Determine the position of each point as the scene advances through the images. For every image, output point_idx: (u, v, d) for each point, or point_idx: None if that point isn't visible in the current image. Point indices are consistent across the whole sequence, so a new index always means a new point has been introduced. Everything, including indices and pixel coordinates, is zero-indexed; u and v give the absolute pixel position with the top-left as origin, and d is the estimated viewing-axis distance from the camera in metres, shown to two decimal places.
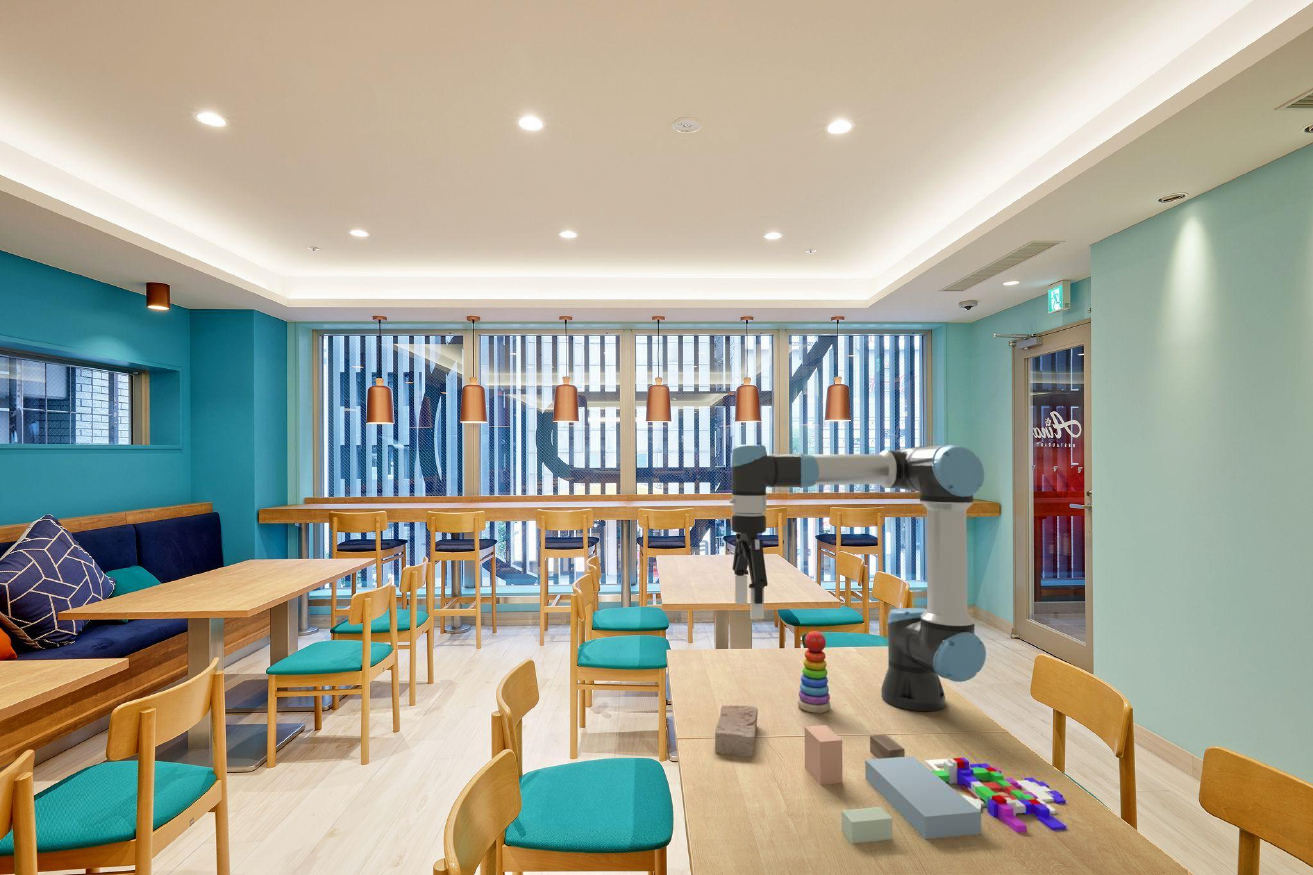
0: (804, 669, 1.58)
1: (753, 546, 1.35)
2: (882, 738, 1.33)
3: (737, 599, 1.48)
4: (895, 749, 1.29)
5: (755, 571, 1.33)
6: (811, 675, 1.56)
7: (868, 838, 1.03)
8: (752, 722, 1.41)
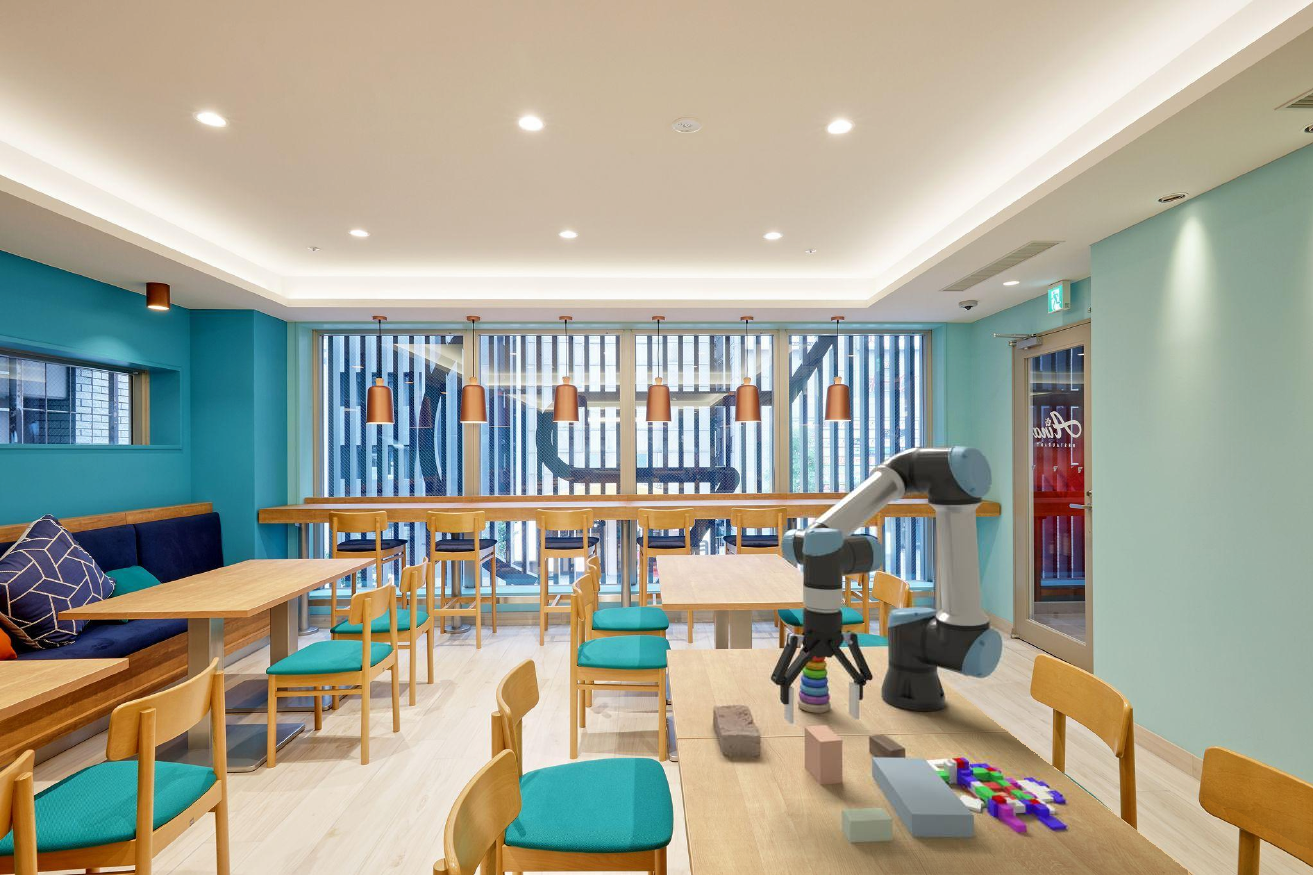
0: (804, 669, 1.58)
1: (787, 640, 1.25)
2: (881, 738, 1.33)
3: (849, 708, 1.27)
4: (896, 749, 1.29)
5: (776, 665, 1.25)
6: (811, 675, 1.56)
7: (867, 838, 1.03)
8: (751, 721, 1.41)
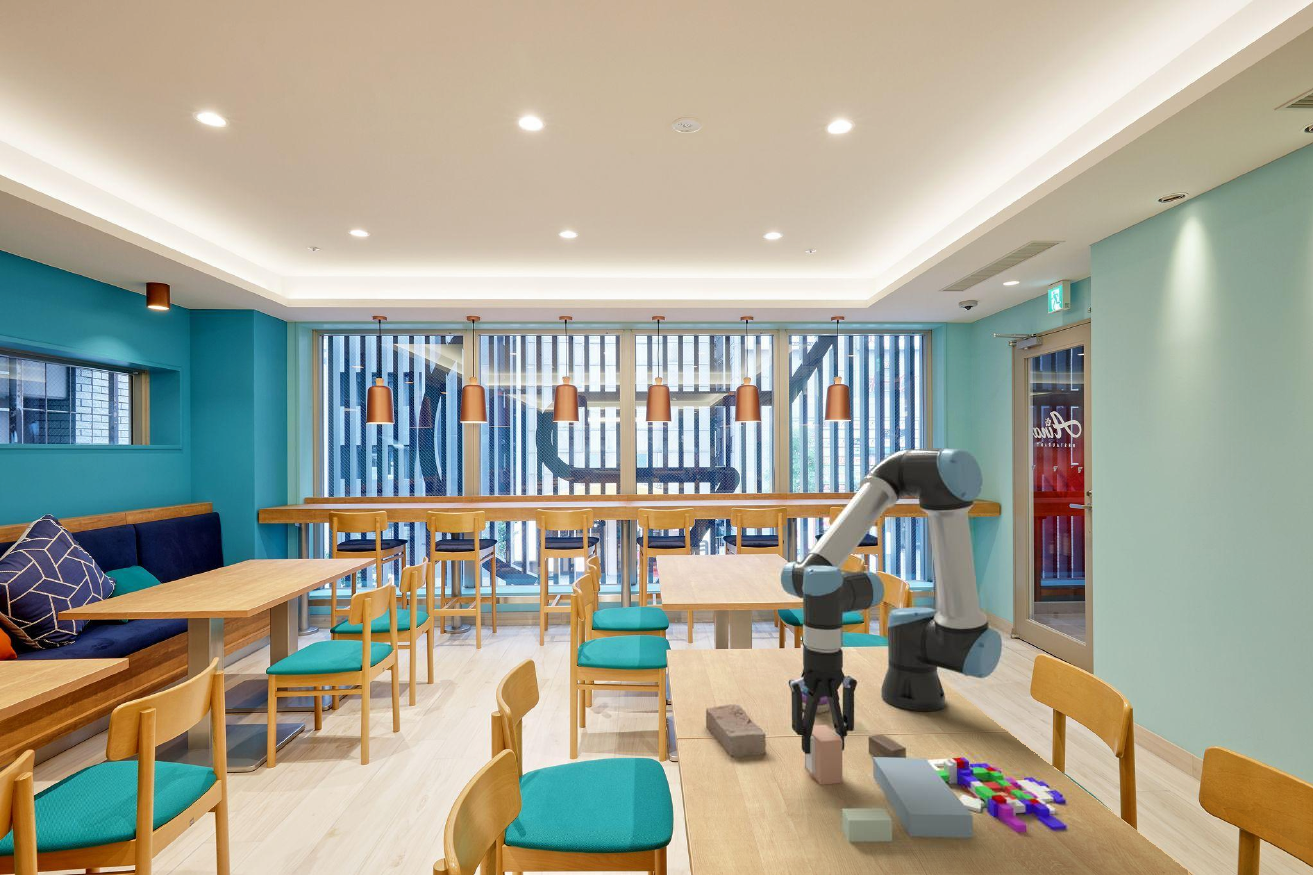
0: None
1: (790, 688, 1.25)
2: (881, 739, 1.33)
3: None
4: (897, 748, 1.29)
5: (792, 715, 1.25)
6: None
7: (866, 838, 1.03)
8: (749, 719, 1.42)
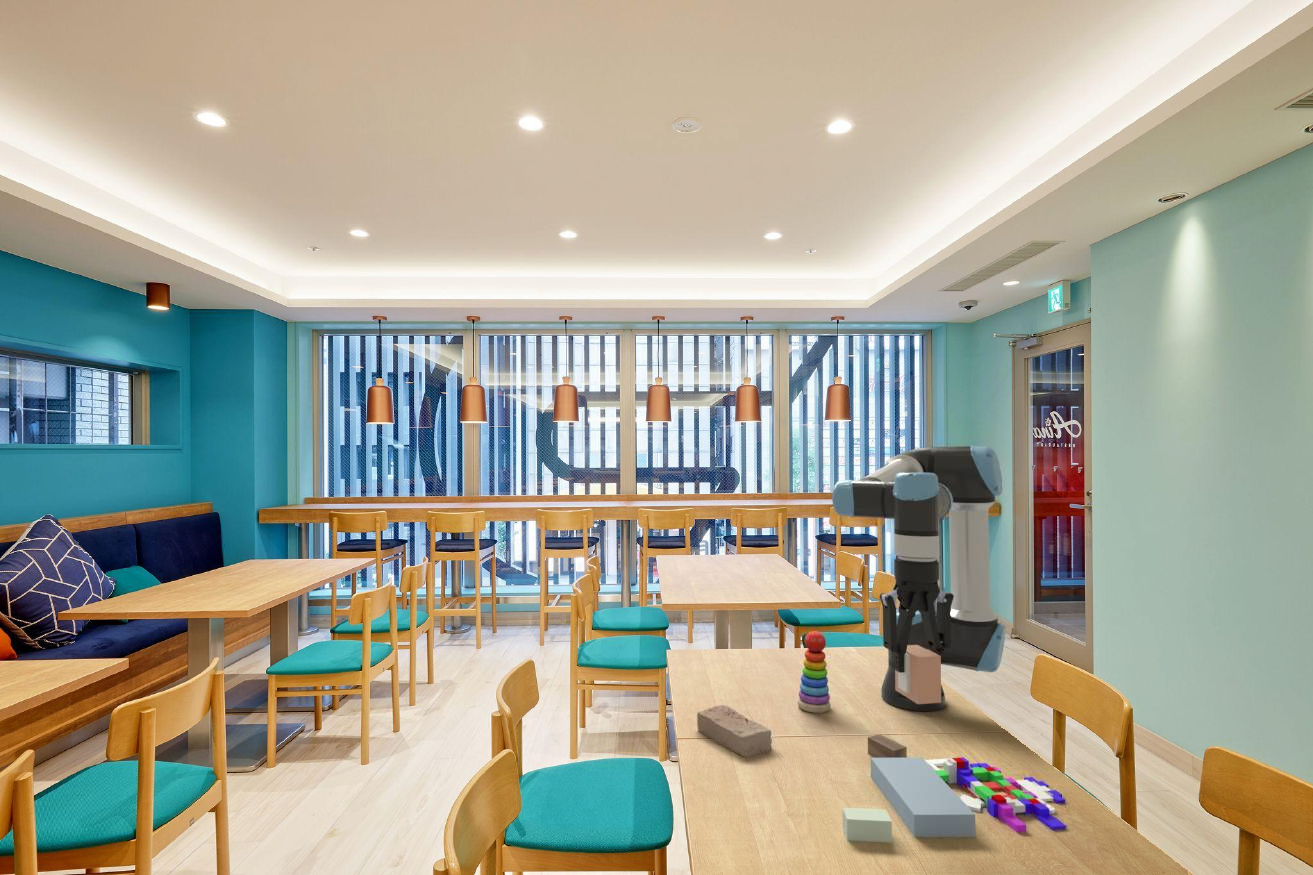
0: (804, 669, 1.58)
1: (882, 602, 1.15)
2: (880, 739, 1.33)
3: None
4: (899, 748, 1.29)
5: (883, 631, 1.15)
6: (811, 675, 1.56)
7: (865, 837, 1.03)
8: (745, 718, 1.43)
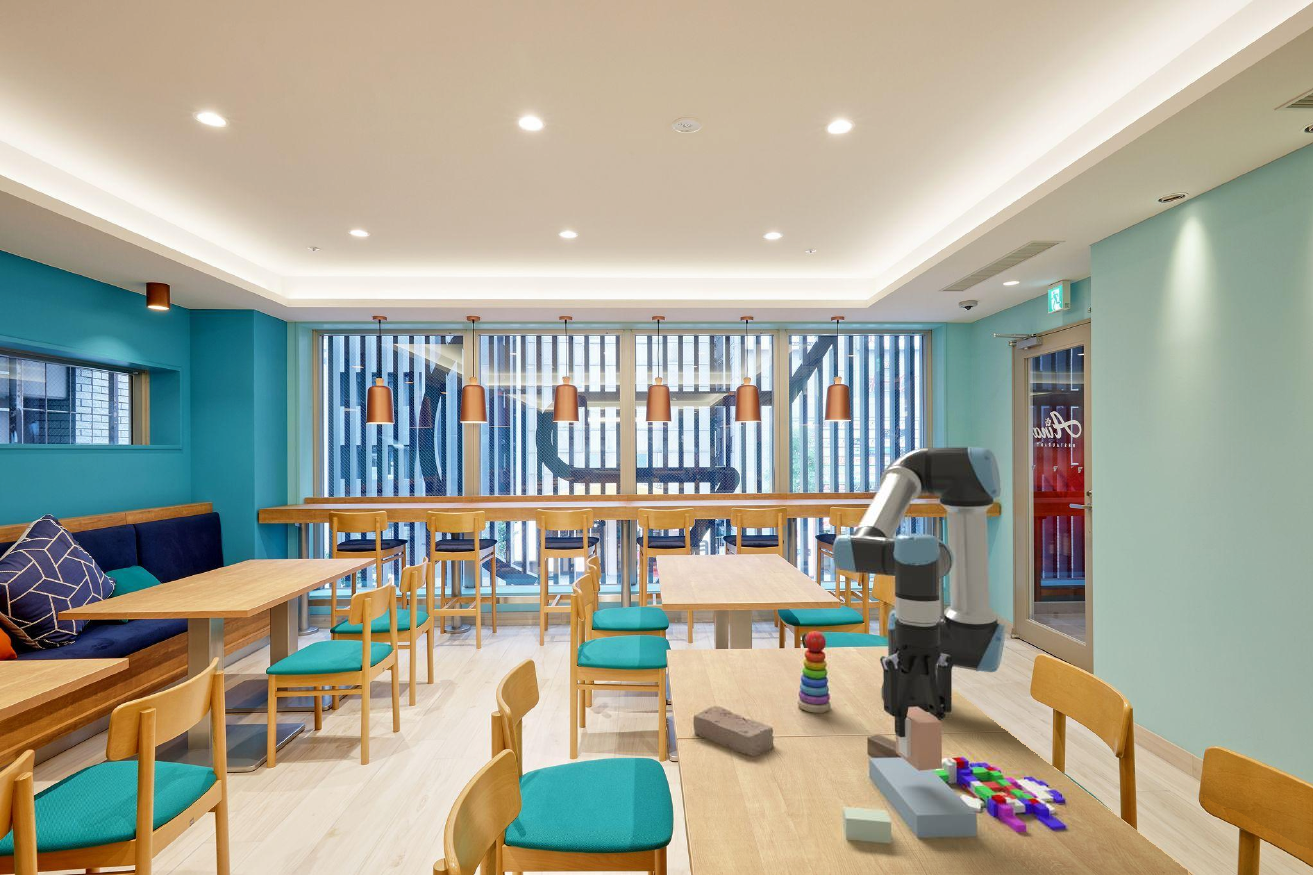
0: (804, 669, 1.58)
1: (882, 665, 1.15)
2: (880, 739, 1.33)
3: None
4: None
5: (884, 695, 1.15)
6: (811, 675, 1.56)
7: (864, 837, 1.03)
8: (742, 717, 1.43)
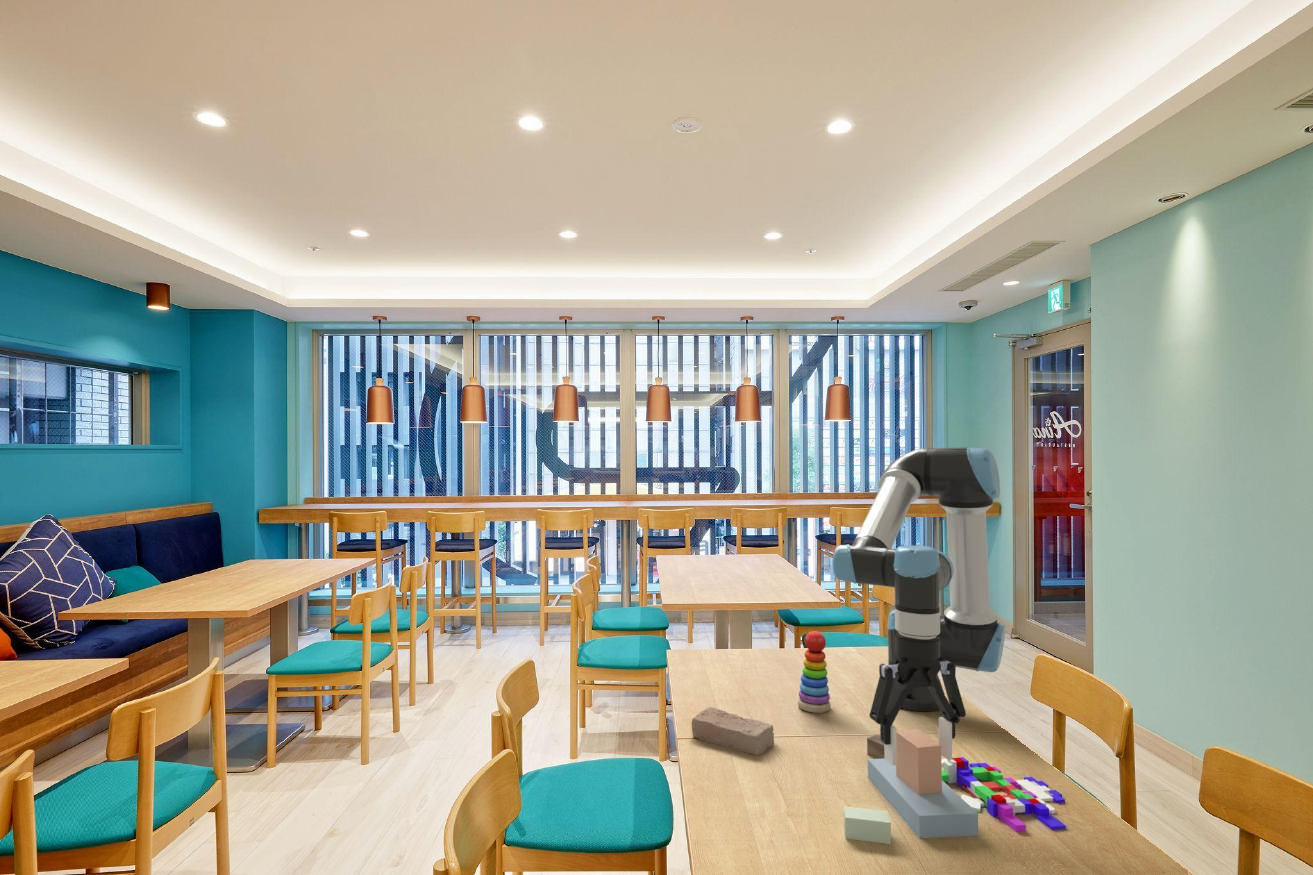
0: (804, 669, 1.58)
1: (880, 672, 1.15)
2: (880, 739, 1.33)
3: None
4: None
5: (873, 701, 1.14)
6: (811, 675, 1.56)
7: (863, 837, 1.03)
8: (739, 717, 1.43)
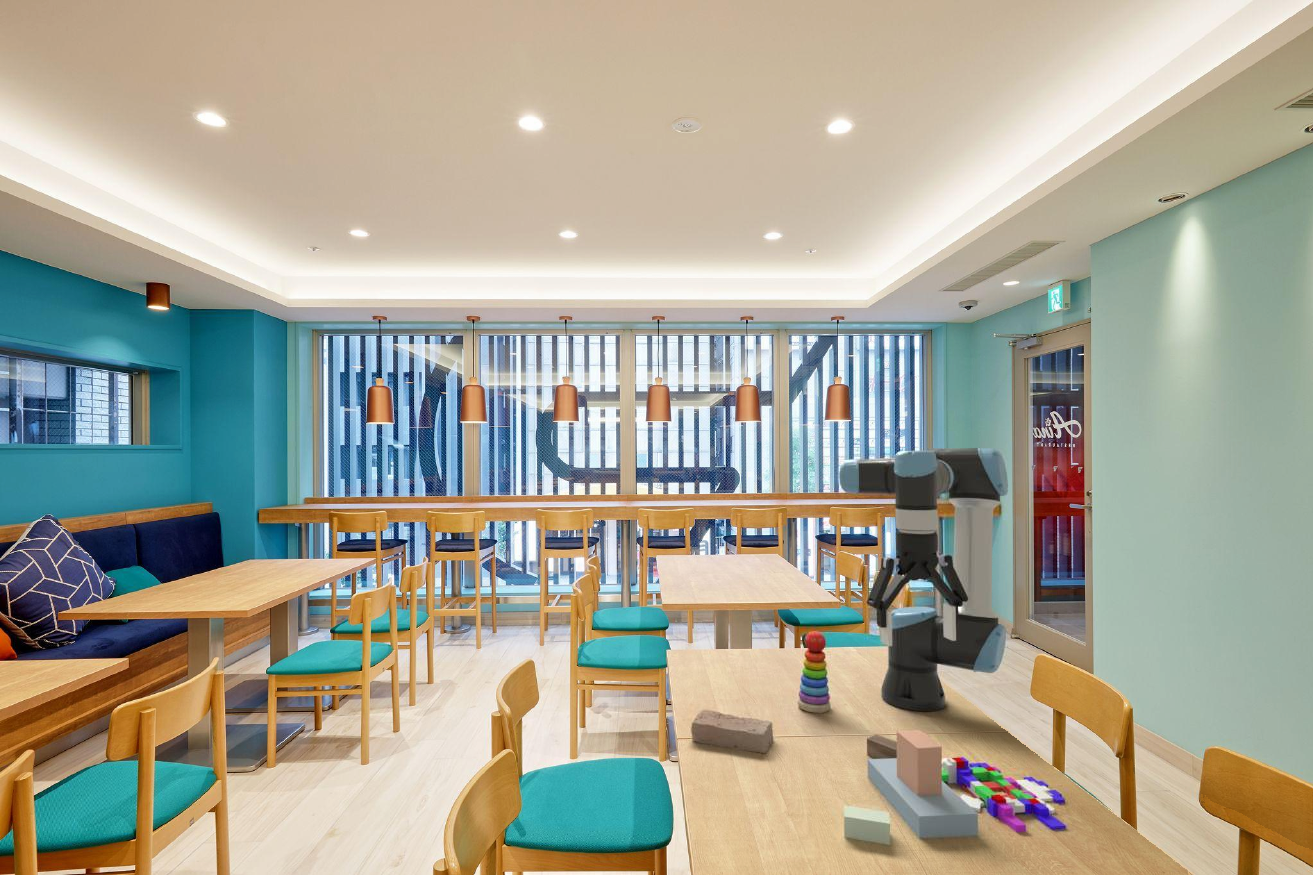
0: (804, 669, 1.58)
1: (882, 563, 1.23)
2: (879, 739, 1.33)
3: (944, 631, 1.26)
4: None
5: (872, 589, 1.23)
6: (811, 675, 1.56)
7: (862, 837, 1.03)
8: (735, 717, 1.43)
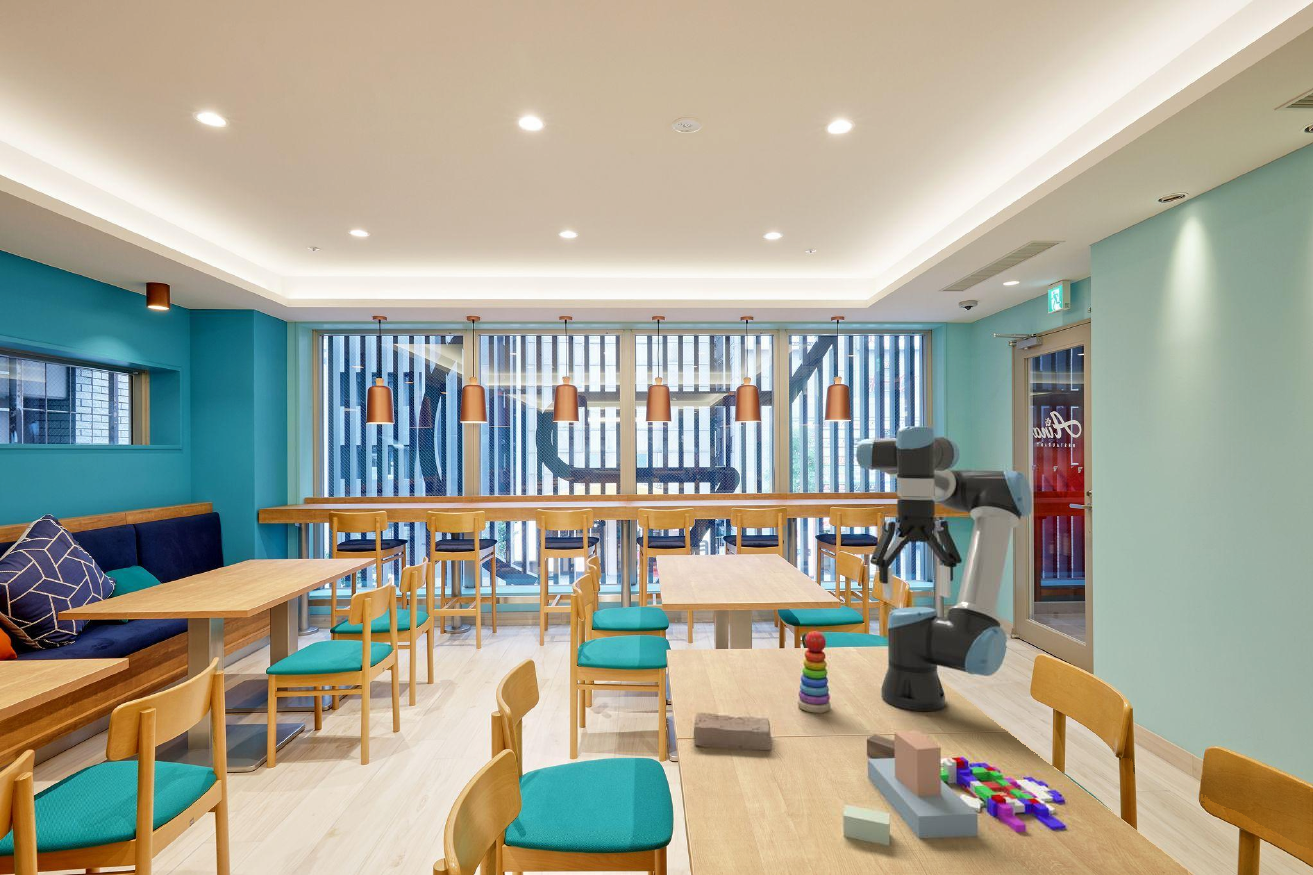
0: (804, 669, 1.58)
1: (884, 527, 1.38)
2: (879, 739, 1.33)
3: (940, 590, 1.40)
4: None
5: (875, 550, 1.37)
6: (811, 675, 1.56)
7: (861, 836, 1.03)
8: (732, 717, 1.43)
